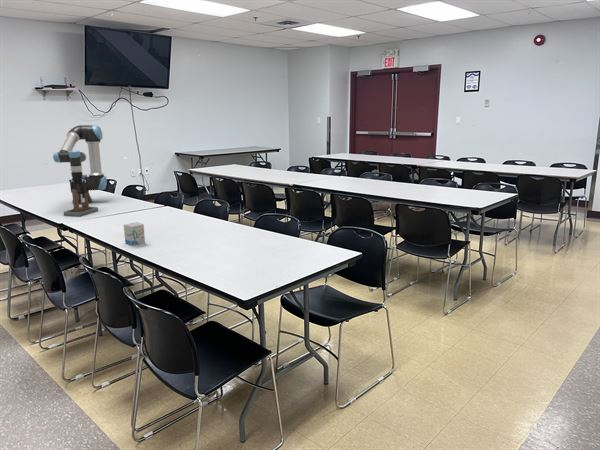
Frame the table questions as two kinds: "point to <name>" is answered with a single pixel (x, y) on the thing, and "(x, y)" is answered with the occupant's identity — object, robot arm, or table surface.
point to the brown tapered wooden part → (76, 202)
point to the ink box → (134, 233)
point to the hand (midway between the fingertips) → (80, 202)
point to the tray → (77, 214)
